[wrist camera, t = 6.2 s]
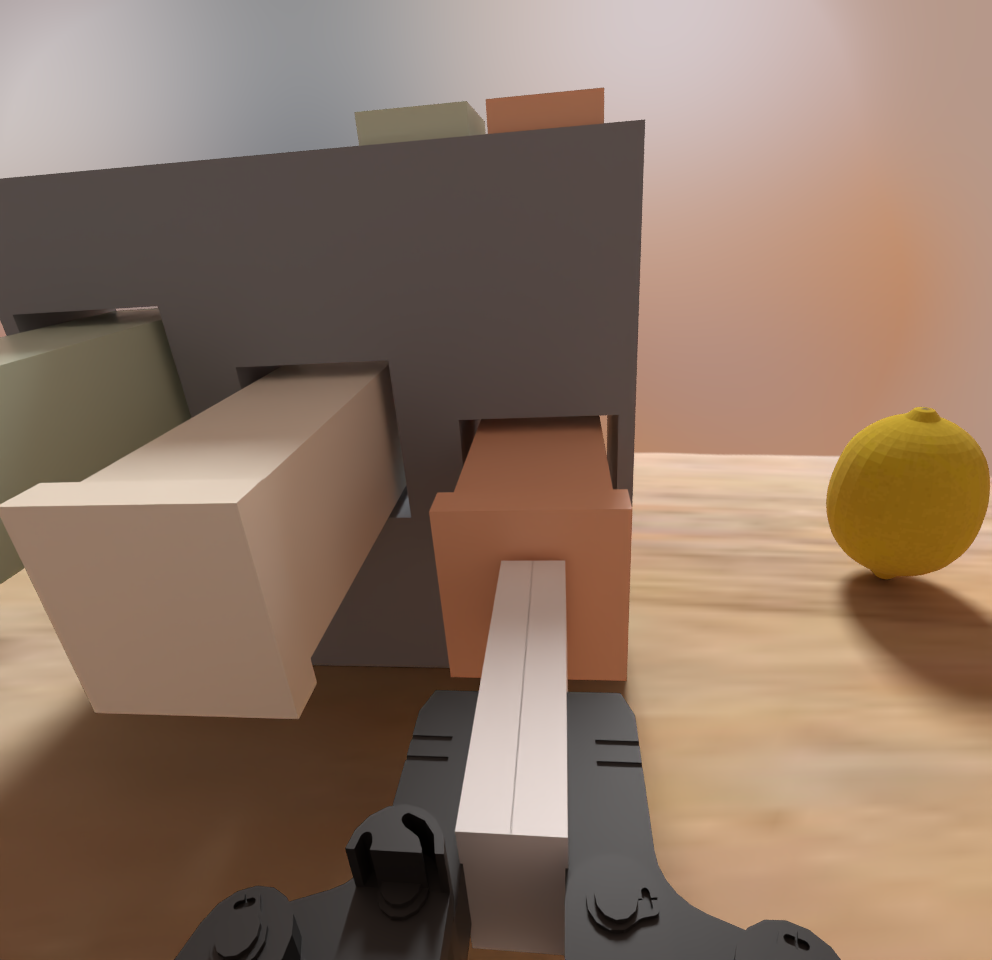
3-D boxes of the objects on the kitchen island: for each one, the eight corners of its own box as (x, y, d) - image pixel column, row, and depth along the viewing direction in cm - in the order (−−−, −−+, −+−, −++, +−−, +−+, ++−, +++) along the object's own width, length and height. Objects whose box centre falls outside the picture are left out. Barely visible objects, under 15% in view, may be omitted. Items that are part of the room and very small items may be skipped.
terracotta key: (451, 677, 16) (428, 511, 13) (497, 476, 27) (489, 370, 25) (626, 680, 15) (632, 509, 13) (597, 474, 26) (598, 366, 24)
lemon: (803, 590, 26) (834, 419, 23) (824, 534, 30) (854, 382, 26) (958, 632, 23) (1021, 442, 19) (959, 564, 27) (1012, 396, 23)
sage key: (-236, 635, 12) (-400, 413, 10) (146, 429, 24) (104, 304, 22) (-46, 637, 12) (-182, 404, 10) (251, 425, 23) (218, 297, 21)
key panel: (142, 661, 25) (-70, 152, 17) (201, 597, 29) (54, 163, 21) (626, 671, 22) (646, 81, 14) (616, 598, 26) (627, 108, 18)
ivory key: (94, 712, 13) (-5, 506, 10) (318, 469, 24) (292, 349, 22) (298, 718, 12) (236, 503, 10) (427, 467, 23) (410, 342, 21)
